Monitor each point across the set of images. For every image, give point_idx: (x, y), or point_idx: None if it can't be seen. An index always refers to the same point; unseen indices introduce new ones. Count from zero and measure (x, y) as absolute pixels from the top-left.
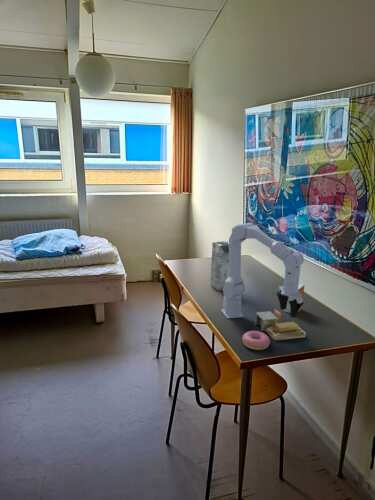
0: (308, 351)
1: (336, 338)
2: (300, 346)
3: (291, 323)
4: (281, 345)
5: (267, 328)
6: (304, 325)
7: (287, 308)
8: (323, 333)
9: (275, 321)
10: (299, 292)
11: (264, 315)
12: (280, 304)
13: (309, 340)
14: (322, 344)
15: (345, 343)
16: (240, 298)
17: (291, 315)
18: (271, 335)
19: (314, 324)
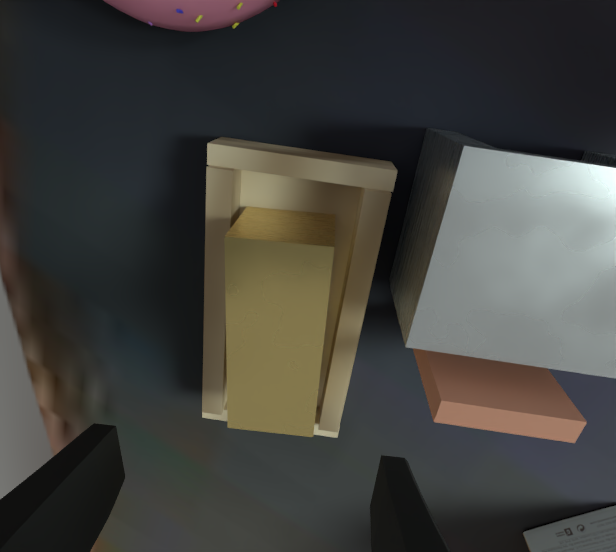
0: (16, 285)
1: (159, 516)
2: (91, 280)
3: (282, 399)
4: (124, 141)
5: (386, 168)
6: (363, 481)
7: (610, 542)
8: (230, 501)
9: (407, 300)
10: None
11: (567, 246)
12: (414, 534)
13: (164, 385)
14: (102, 418)
15: None
16: None
17: (69, 443)
18: (288, 148)
19: (349, 530)
